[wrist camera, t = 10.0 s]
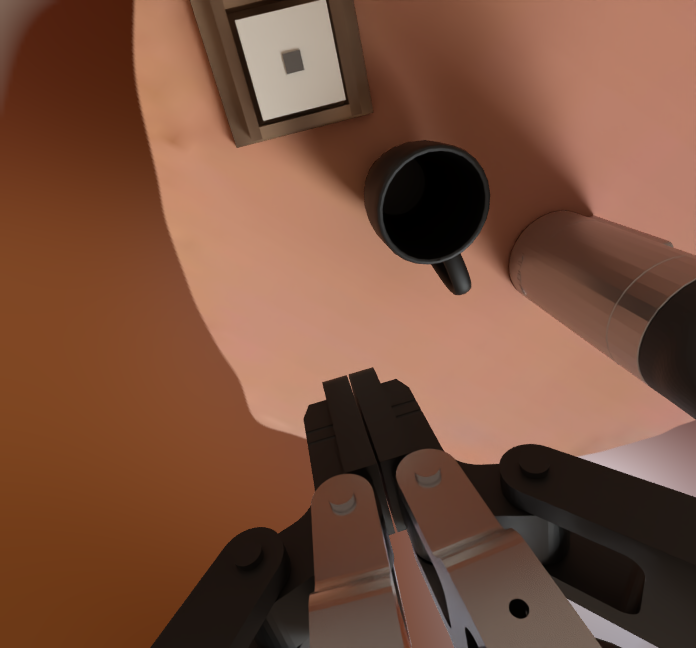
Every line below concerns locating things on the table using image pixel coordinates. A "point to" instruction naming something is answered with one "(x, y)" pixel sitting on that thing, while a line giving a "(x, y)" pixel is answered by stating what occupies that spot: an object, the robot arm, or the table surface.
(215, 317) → the table surface
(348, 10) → the board
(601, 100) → the table surface
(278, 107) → the tile one
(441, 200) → the mug
